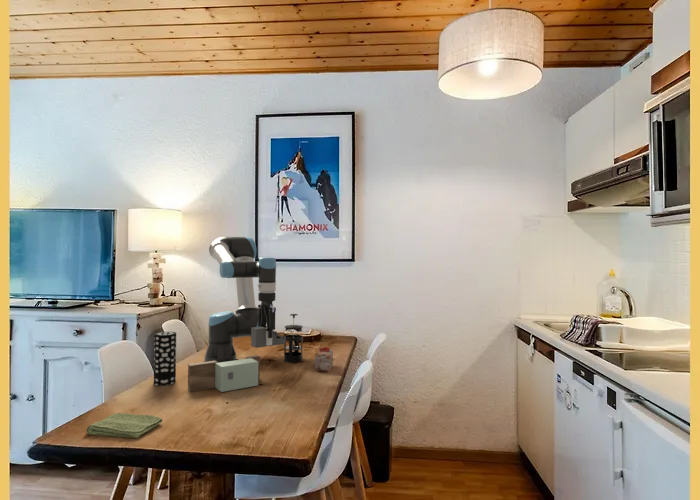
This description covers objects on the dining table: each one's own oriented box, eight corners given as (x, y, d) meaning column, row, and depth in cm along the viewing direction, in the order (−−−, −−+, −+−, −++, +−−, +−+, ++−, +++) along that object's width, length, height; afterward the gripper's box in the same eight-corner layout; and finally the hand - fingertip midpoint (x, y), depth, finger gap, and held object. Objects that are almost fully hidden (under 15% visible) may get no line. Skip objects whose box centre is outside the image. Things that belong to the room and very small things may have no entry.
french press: (299, 363, 216) (299, 315, 216) (280, 362, 217) (281, 315, 218) (306, 357, 227) (306, 312, 227) (288, 356, 229) (288, 312, 229)
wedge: (251, 345, 198) (251, 327, 198) (279, 342, 206) (279, 324, 206) (255, 347, 194) (255, 329, 194) (284, 344, 202) (285, 326, 202)
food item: (331, 372, 200) (332, 350, 200) (314, 372, 200) (314, 350, 200) (333, 365, 214) (333, 344, 214) (316, 364, 214) (316, 344, 214)
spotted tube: (180, 381, 184) (180, 332, 184) (164, 386, 177) (164, 336, 177) (165, 378, 188) (166, 331, 188) (148, 383, 180) (149, 334, 180)
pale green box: (215, 387, 176) (215, 363, 176) (250, 381, 184) (251, 358, 184) (221, 392, 169) (222, 367, 169) (258, 386, 178) (259, 362, 178)
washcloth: (138, 441, 127) (138, 430, 127) (83, 436, 130) (83, 425, 130) (164, 424, 140) (165, 413, 140) (114, 420, 143) (114, 410, 143)
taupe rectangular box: (187, 390, 173) (188, 364, 173) (256, 378, 189) (256, 354, 189) (190, 392, 170) (190, 365, 170) (259, 380, 187) (259, 356, 187)
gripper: (250, 290, 205) (250, 341, 205) (268, 294, 190) (267, 348, 190) (266, 290, 209) (265, 339, 209) (283, 293, 194) (283, 346, 194)
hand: (266, 343), depth 199 cm, fingers closed on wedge, 5 cm apart
